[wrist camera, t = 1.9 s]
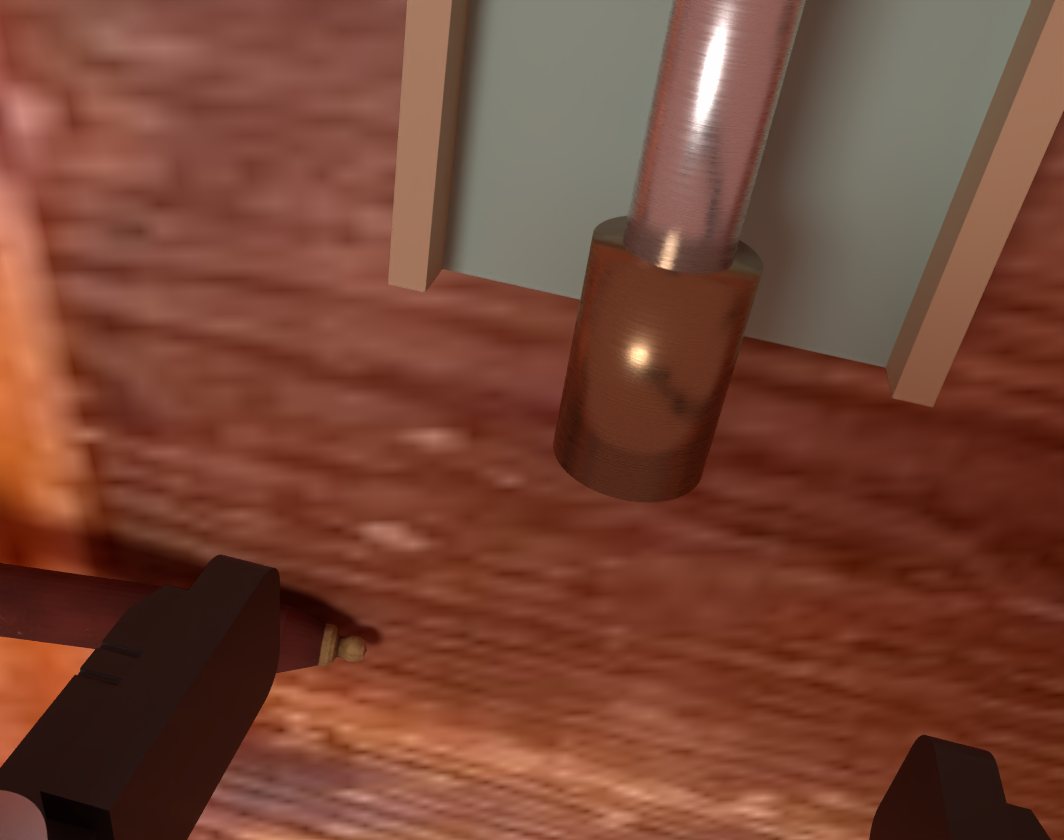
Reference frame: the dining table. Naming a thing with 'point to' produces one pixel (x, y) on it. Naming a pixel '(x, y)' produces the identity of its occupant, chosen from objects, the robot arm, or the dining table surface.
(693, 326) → the rod
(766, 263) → the pitch board
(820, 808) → the dining table surface
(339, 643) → the gavel
